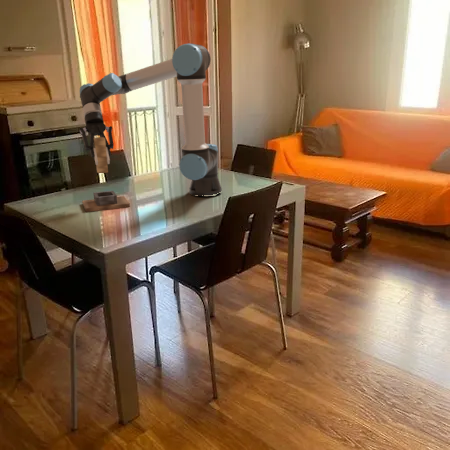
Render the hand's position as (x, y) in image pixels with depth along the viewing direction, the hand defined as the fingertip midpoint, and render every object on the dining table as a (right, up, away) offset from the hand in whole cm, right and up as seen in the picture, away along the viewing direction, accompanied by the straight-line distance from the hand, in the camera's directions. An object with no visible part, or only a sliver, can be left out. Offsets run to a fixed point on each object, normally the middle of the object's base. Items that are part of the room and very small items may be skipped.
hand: (102, 162), depth 185 cm
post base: (-1, -17, +10) cm, 20 cm away
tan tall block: (-1, -3, +5) cm, 6 cm away
